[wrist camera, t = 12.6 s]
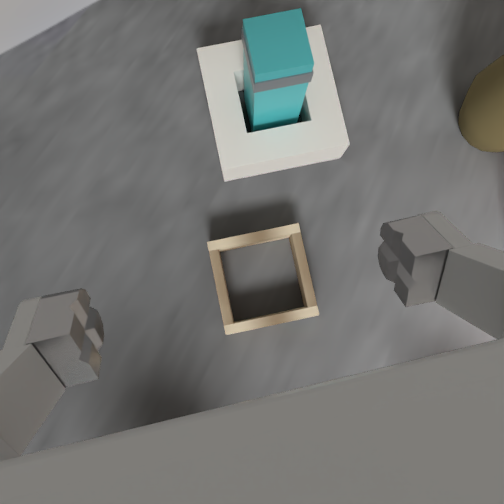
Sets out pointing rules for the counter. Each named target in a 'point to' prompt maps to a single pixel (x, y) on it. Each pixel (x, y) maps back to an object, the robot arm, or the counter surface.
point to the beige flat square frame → (301, 269)
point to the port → (280, 138)
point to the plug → (275, 68)
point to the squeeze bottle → (485, 109)
